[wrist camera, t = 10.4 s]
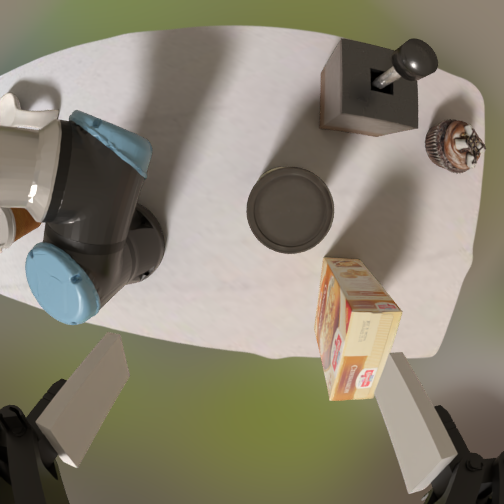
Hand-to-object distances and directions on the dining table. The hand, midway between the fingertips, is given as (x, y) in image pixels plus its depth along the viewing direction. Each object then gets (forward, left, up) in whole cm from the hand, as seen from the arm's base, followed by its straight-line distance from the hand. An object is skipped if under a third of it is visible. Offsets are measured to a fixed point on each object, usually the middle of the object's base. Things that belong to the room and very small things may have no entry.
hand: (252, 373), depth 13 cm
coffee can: (+3, +4, -37) cm, 37 cm away
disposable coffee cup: (-51, 0, -37) cm, 63 cm away
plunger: (+13, +21, -32) cm, 40 cm away
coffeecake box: (+14, -13, -37) cm, 42 cm away
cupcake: (+32, +17, -37) cm, 52 cm away
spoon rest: (-54, +23, -37) cm, 70 cm away
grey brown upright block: (+13, +21, -37) cm, 44 cm away
